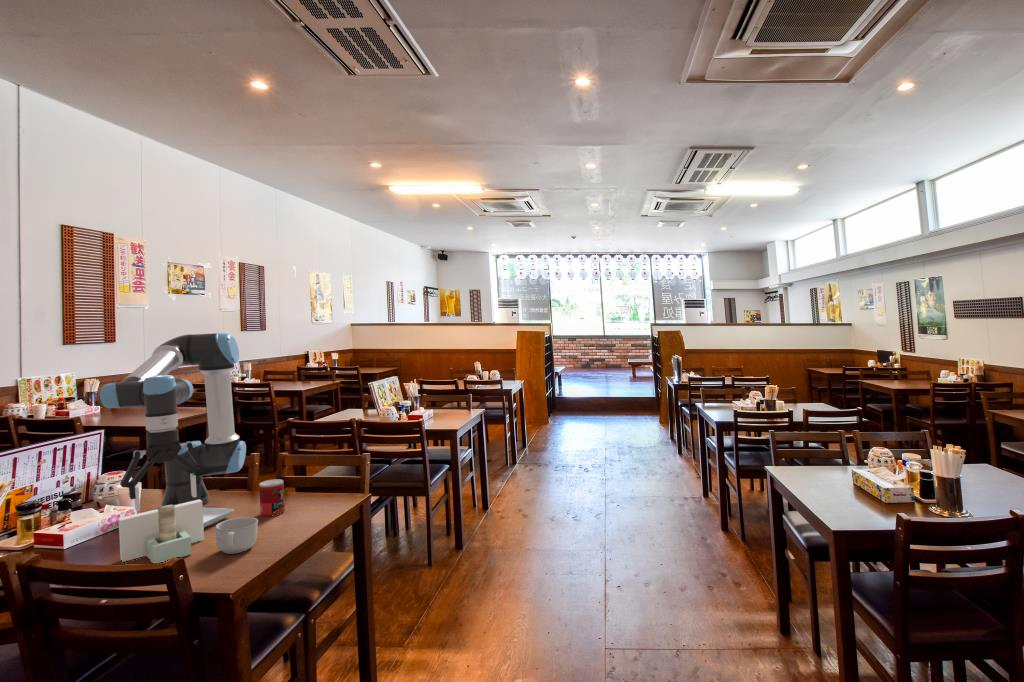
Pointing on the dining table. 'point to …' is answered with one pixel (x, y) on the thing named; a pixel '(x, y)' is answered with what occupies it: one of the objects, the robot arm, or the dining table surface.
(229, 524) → the teacup
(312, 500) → the dining table surface
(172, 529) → the dowel
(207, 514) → the salad plate
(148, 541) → the holed block
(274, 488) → the canned food
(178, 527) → the wall
